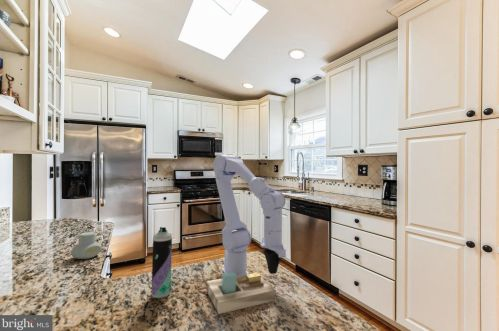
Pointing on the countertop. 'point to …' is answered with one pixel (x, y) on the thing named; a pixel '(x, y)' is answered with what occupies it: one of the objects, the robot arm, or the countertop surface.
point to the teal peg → (228, 283)
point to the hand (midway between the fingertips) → (272, 272)
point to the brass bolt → (253, 278)
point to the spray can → (161, 263)
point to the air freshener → (86, 246)
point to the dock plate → (240, 294)
